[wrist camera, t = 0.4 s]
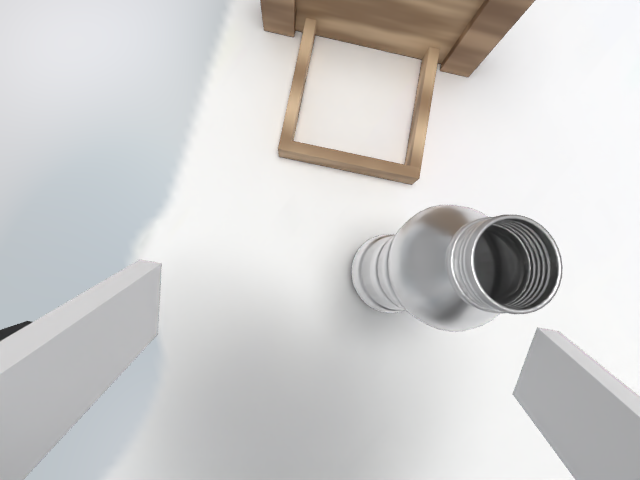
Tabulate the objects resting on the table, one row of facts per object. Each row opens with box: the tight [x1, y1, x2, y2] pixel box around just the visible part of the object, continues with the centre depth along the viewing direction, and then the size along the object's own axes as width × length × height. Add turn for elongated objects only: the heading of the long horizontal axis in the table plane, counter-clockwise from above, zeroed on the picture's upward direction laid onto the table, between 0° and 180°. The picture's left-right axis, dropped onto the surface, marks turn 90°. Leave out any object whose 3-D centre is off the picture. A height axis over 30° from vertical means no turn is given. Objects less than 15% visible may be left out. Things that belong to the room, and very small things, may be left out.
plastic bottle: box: [351, 205, 562, 332], centre depth 23 cm, size 6×7×20 cm
